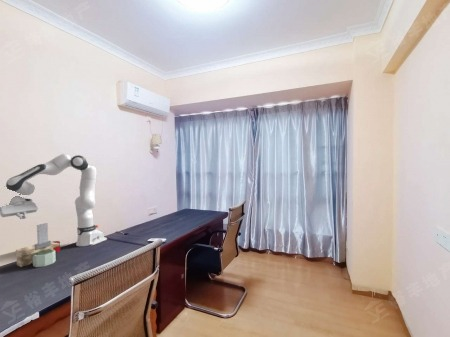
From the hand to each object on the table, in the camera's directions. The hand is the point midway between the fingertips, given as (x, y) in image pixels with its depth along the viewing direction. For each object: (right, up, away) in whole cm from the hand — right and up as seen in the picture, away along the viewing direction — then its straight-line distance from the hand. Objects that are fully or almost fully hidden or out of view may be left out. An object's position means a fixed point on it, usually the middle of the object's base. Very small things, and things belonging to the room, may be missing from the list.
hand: (23, 218), depth 160 cm
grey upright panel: (+23, -16, -11) cm, 30 cm away
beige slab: (+18, -27, -9) cm, 34 cm away
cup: (+24, -27, -12) cm, 38 cm away
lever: (+12, -27, +5) cm, 31 cm away
